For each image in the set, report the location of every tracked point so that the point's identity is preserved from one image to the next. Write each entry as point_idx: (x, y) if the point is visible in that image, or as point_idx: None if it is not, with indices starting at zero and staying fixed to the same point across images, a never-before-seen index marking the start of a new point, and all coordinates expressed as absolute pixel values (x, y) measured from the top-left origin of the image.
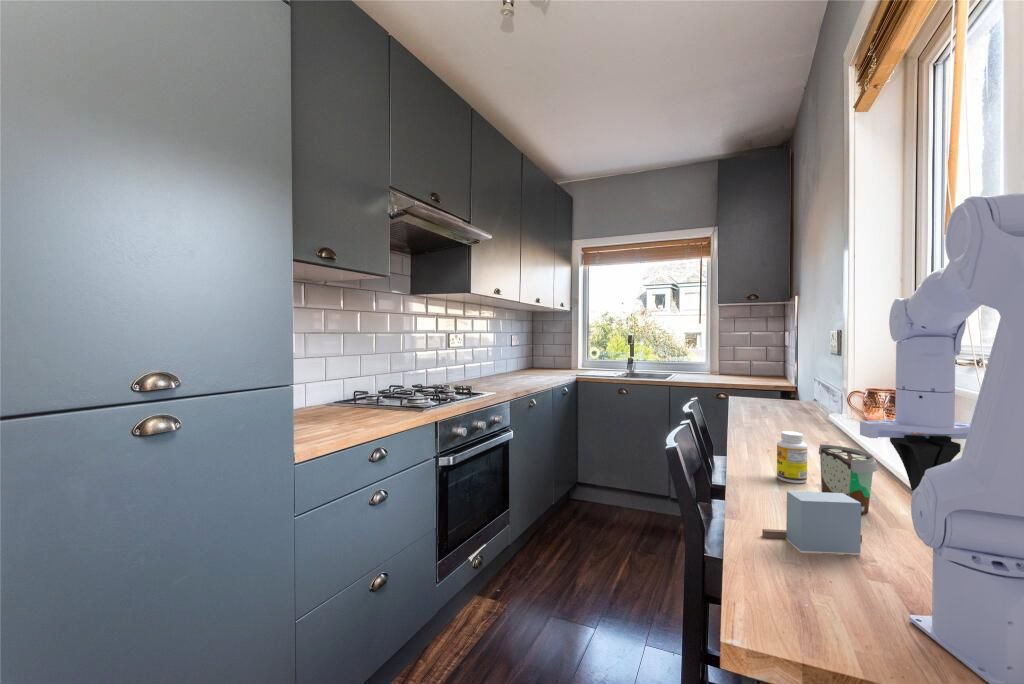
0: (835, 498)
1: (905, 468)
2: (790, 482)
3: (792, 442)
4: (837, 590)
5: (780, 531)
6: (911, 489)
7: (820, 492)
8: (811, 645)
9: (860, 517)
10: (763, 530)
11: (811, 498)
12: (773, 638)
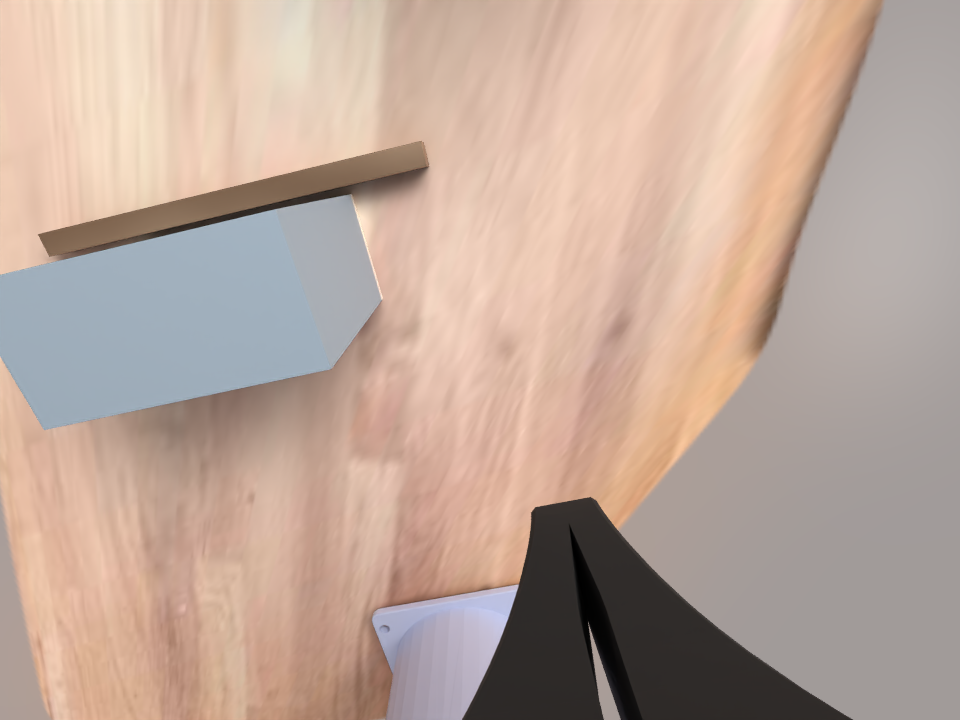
0: (214, 336)
1: (516, 602)
2: None
3: None
4: (260, 534)
5: (107, 238)
6: (531, 515)
7: (145, 244)
8: (180, 713)
9: (348, 344)
10: (44, 244)
11: (92, 376)
12: (119, 714)
